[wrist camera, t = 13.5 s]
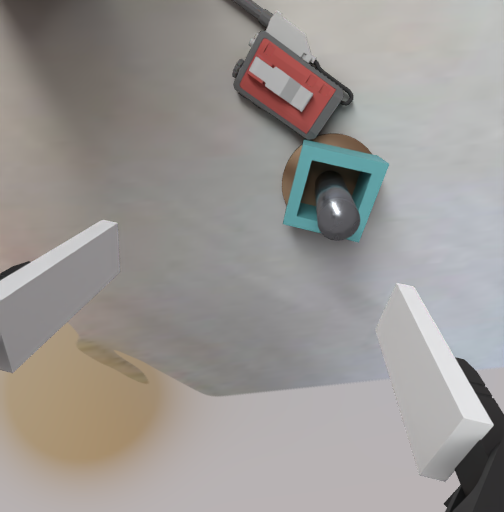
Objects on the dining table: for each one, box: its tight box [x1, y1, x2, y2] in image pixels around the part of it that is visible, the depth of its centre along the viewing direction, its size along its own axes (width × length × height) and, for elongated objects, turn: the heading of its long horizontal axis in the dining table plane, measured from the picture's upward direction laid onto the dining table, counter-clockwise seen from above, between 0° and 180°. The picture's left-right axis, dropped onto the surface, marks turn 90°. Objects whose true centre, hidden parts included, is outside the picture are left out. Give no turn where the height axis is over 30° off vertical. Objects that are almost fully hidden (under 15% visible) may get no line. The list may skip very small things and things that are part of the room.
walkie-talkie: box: [232, 0, 353, 140], centre depth 34 cm, size 9×4×20 cm
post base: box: [282, 134, 372, 206], centre depth 40 cm, size 12×12×2 cm
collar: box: [283, 139, 389, 242], centre depth 37 cm, size 9×9×6 cm
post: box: [315, 171, 360, 240], centre depth 33 cm, size 4×4×14 cm
